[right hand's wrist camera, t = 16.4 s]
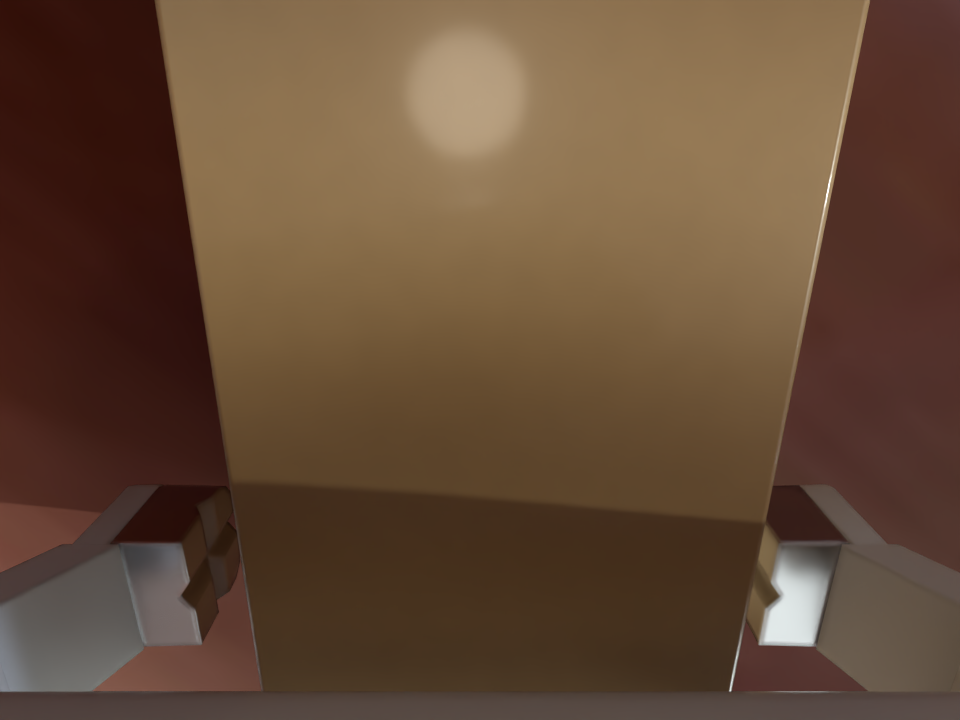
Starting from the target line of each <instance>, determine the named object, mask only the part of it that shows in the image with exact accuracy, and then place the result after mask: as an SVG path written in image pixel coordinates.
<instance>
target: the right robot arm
mask: <svg viewBox="0 0 960 720" xmlns="http://www.w3.org/2000/svg"><path fill="white" fill-rule="evenodd" d="M232 513H233V504H232V498H231V491H230V490H229V489H228V488H227V487H226V486H203V485H162V484H153V485H133V486H128V487H127V488H126V489H125V490H124V491H123V492H122V493H121V494H120V495H119V496H118V497H117V498H116V499H115V500H114V501H113V502H112V503H111V505H110V506H109V507H108V508H107V509H106V510H105V511H104V512H103V513H102V514H101V515H100V516H99V517H98V518H97V519H96V520H95V521H94V522H93V523H92V524H91V525H90V526H89V528H88V529H87V530H86V531H85V532H84V533H83V534H82V535H81V536H80V537H79V538H78V539H77V540H76V541H75V542H74V543H73V544H62V545H60V546H58V547H55V548H53V549H51V550H49V551H47V552H45V553H42V554H40V555H38V556H36V557H34V558H31V559H29V560H27V561H25V562H23V563H21V564H18V565H16V566H14V567H12V568H10V569H8V570H5V571H3V572H1V573H0V720H960V573H959V572H957V571H954V570H952V569H950V568H948V567H946V566H944V565H941V564H939V563H937V562H935V561H933V560H931V559H928V558H926V557H924V556H922V555H920V554H918V553H915V552H913V551H911V550H909V549H907V548H905V547H902V546H900V545H898V544H887V543H886V542H885V541H884V540H883V539H882V538H881V537H880V536H879V535H878V534H877V533H876V532H875V531H874V530H873V529H872V527H871V526H870V525H869V524H868V523H867V522H866V521H865V520H864V519H863V518H862V517H861V516H860V515H859V514H858V513H857V512H856V511H855V510H854V509H853V508H852V507H851V505H850V504H849V503H848V502H847V501H846V500H845V499H844V498H843V497H842V496H841V495H840V494H839V493H838V492H837V491H836V490H835V489H834V488H833V487H831V486H829V485H826V484H814V485H791V486H773V487H772V492H771V497H770V502H769V507H768V512H767V517H766V522H765V527H764V532H763V537H762V542H761V547H760V552H759V557H758V562H757V567H756V572H755V577H754V582H753V587H752V592H751V597H750V602H749V607H748V612H747V617H746V622H747V624H748V626H749V628H750V629H751V631H752V633H753V635H754V637H755V639H756V641H757V643H758V644H759V645H782V646H817V647H816V649H817V650H818V651H819V652H820V653H822V654H823V655H824V656H825V657H827V658H828V659H829V660H830V661H832V662H833V663H834V664H835V665H837V666H838V667H839V668H840V669H842V670H843V671H844V672H845V673H847V674H848V675H849V676H850V677H852V678H853V679H854V680H855V681H857V682H858V683H859V684H860V685H862V686H863V687H864V688H865V689H867V690H868V691H92V690H94V689H95V688H96V687H97V686H99V685H100V684H101V683H102V682H104V681H105V680H106V679H107V678H109V677H110V676H111V675H112V674H114V673H115V672H116V671H117V670H119V669H120V668H121V667H122V666H124V665H125V664H126V663H127V662H129V661H130V660H131V659H132V658H134V657H135V656H136V655H137V654H139V653H140V652H141V651H142V650H144V647H143V646H177V645H202V643H203V641H204V639H205V637H206V635H207V633H208V631H209V629H210V628H211V626H212V624H213V622H214V620H215V618H216V616H217V614H218V613H219V610H218V604H217V599H219V598H220V597H222V596H223V595H225V594H226V593H228V592H229V591H230V590H231V588H232V586H233V583H234V581H235V579H236V577H237V572H238V568H239V563H240V550H239V543H238V537H237V530H236V529H235V528H234V527H233V526H232V525H231V524H230V523H229V522H228V519H229V518H230V516H231V514H232Z"/></svg>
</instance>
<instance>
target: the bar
mask: <svg viewBox="0 0 960 720" xmlns="http://www.w3.org/2000/svg"><path fill="white" fill-rule="evenodd" d="M869 2H870V0H155V6H156V12H157V19H158V25H159V32H160V38H161V45H162V51H163V58H164V64H165V71H166V77H167V84H168V90H169V97H170V103H171V110H172V116H173V122H174V129H175V135H176V142H177V148H178V155H179V161H180V168H181V174H182V181H183V187H184V194H185V200H186V207H187V213H188V220H189V226H190V232H191V239H192V245H193V252H194V258H195V265H196V271H197V278H198V284H199V291H200V297H201V304H202V310H203V317H204V323H205V330H206V336H207V343H208V349H209V355H210V362H211V368H212V375H213V381H214V388H215V394H216V401H217V407H218V414H219V420H220V427H221V433H222V440H223V446H224V453H225V459H226V465H227V472H228V478H229V485H230V491H231V498H232V504H233V511H234V517H235V524H236V530H237V537H238V543H239V550H240V556H241V563H242V569H243V575H244V582H245V588H246V595H247V601H248V608H249V614H250V621H251V627H252V634H253V640H254V647H255V653H256V660H257V666H258V673H259V679H260V686H261V691H732V687H733V682H734V677H735V672H736V667H737V662H738V657H739V652H740V647H741V642H742V637H743V632H744V627H745V622H746V617H747V612H748V607H749V602H750V597H751V592H752V587H753V582H754V577H755V572H756V567H757V562H758V557H759V552H760V547H761V542H762V537H763V532H764V527H765V522H766V517H767V512H768V507H769V502H770V497H771V492H772V487H773V482H774V477H775V472H776V467H777V462H778V457H779V452H780V447H781V442H782V437H783V432H784V427H785V422H786V417H787V412H788V407H789V402H790V397H791V392H792V387H793V382H794V377H795V372H796V367H797V362H798V357H799V352H800V347H801V342H802V337H803V332H804V327H805V322H806V317H807V312H808V307H809V302H810V297H811V292H812V287H813V282H814V277H815V272H816V267H817V262H818V257H819V252H820V247H821V242H822V237H823V232H824V227H825V222H826V217H827V212H828V207H829V202H830V197H831V192H832V187H833V182H834V177H835V172H836V167H837V162H838V157H839V152H840V147H841V142H842V137H843V132H844V127H845V122H846V117H847V112H848V107H849V102H850V97H851V92H852V87H853V82H854V77H855V72H856V67H857V62H858V57H859V52H860V47H861V42H862V37H863V32H864V27H865V22H866V17H867V12H868V7H869Z"/></svg>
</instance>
